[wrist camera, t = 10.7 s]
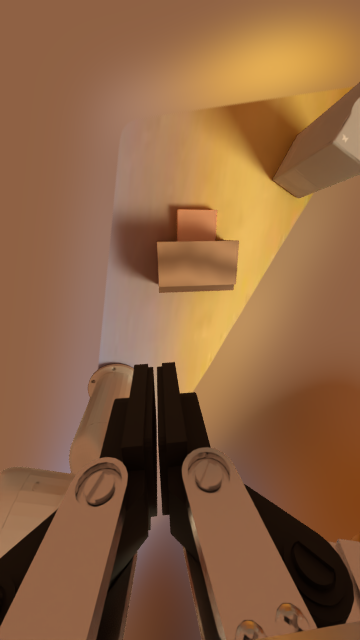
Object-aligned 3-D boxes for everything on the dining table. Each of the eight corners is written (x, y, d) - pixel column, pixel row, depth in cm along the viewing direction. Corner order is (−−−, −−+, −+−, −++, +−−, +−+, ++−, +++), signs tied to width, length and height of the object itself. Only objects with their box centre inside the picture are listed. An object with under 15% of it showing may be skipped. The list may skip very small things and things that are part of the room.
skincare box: (296, 199, 43) (372, 179, 28) (267, 177, 41) (331, 143, 26) (325, 153, 40) (424, 104, 26) (295, 128, 39) (383, 59, 24)
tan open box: (222, 282, 46) (235, 291, 39) (158, 284, 45) (159, 294, 38) (224, 240, 44) (238, 240, 36) (156, 241, 42) (157, 242, 35)
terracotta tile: (210, 276, 46) (213, 278, 44) (176, 276, 46) (177, 278, 44) (214, 211, 42) (217, 210, 40) (176, 210, 42) (177, 209, 39)
